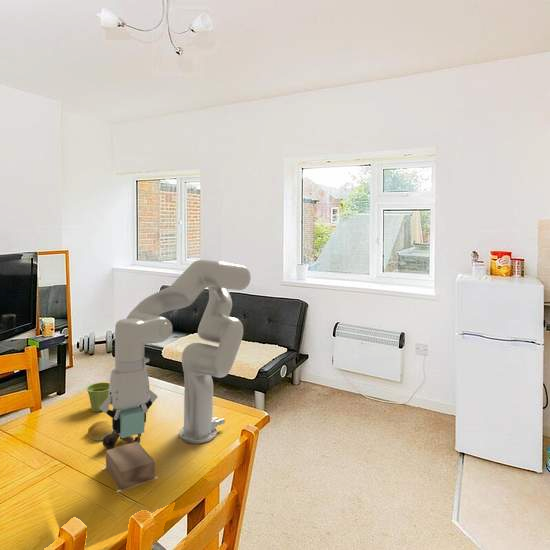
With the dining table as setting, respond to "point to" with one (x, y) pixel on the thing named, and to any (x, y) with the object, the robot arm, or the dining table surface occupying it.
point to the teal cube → (131, 421)
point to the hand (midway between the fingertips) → (129, 427)
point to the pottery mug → (112, 439)
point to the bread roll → (100, 430)
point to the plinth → (130, 465)
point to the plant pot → (98, 395)
